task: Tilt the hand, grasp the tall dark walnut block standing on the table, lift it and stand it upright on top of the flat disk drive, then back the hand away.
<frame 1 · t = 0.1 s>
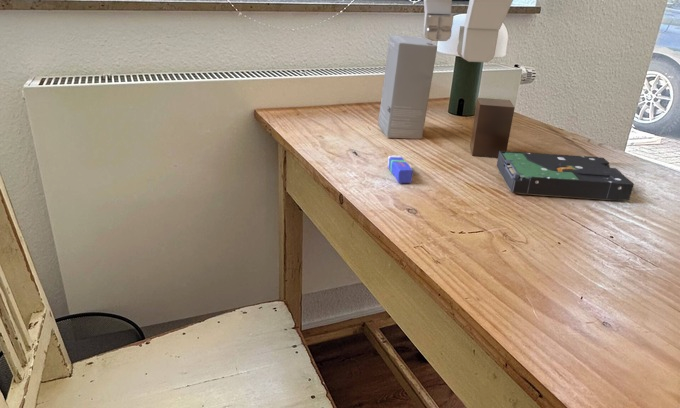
hand: (452, 48, 34), 21 cm above the table, tool pointing down, fingers open, 8 cm apart
cosmetic box: (401, 133, 89), on the table
walnut block: (487, 152, 81), on the table
eraser: (398, 177, 70), on the table
disk drive: (557, 185, 69), on the table
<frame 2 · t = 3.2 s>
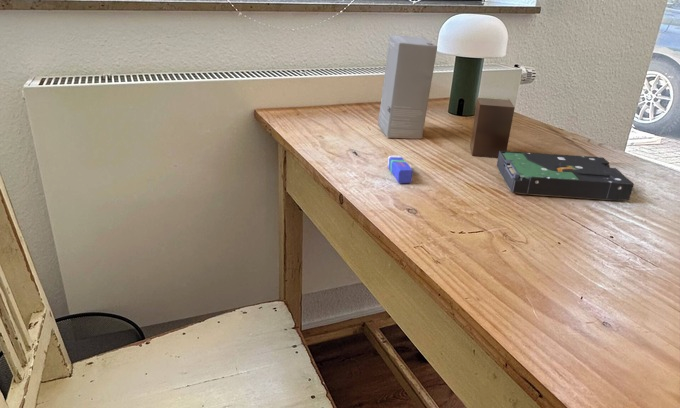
nothing on the table moved.
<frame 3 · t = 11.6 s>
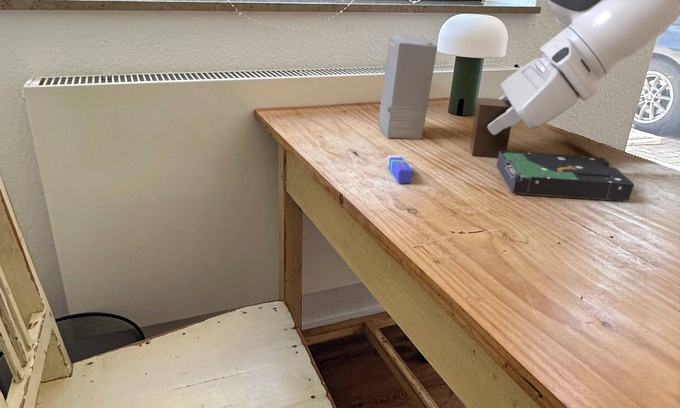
hand: (487, 125, 79), 4 cm above the table, tool tilted 45°, fingers closed on walnut block, 5 cm apart
walnut block: (487, 152, 81), on the table, touching gripper
everything else where it was.
when the fingers open (7 cm above the table, at t = 19.3 s): walnut block stays where it is, resting on disk drive.
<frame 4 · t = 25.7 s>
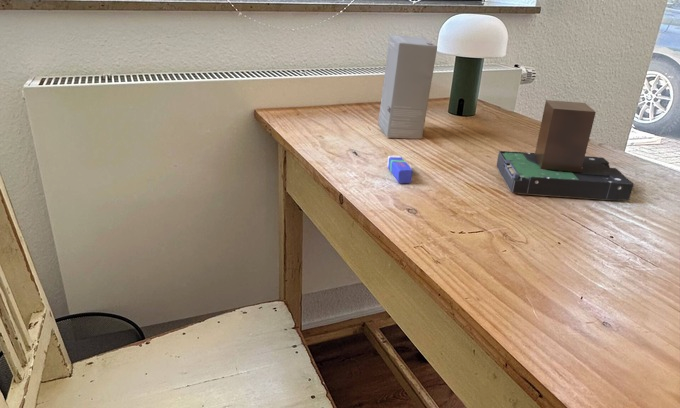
walnut block: (556, 164, 69), point 3 cm above the table, touching disk drive
disk drive: (557, 185, 69), on the table, touching walnut block
everything else where it was.
at the end: walnut block inside the target area on the disk drive (0.6 cm from its centre), point 2.9 cm above the disk drive's base; walnut block tilted 0°; the gripper is holding nothing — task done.
